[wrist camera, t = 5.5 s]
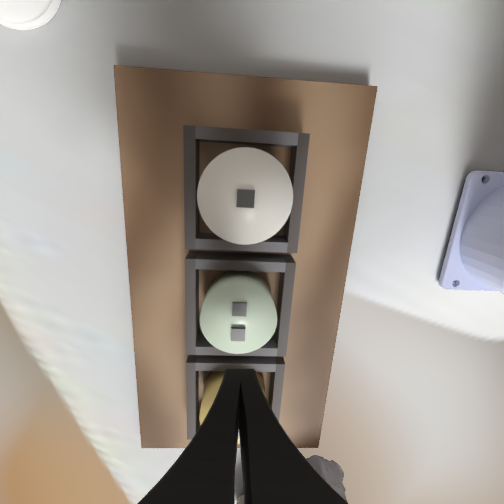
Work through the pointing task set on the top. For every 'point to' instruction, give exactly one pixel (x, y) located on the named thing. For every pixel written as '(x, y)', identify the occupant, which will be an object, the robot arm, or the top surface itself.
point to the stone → (323, 475)
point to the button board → (230, 254)
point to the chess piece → (27, 13)
